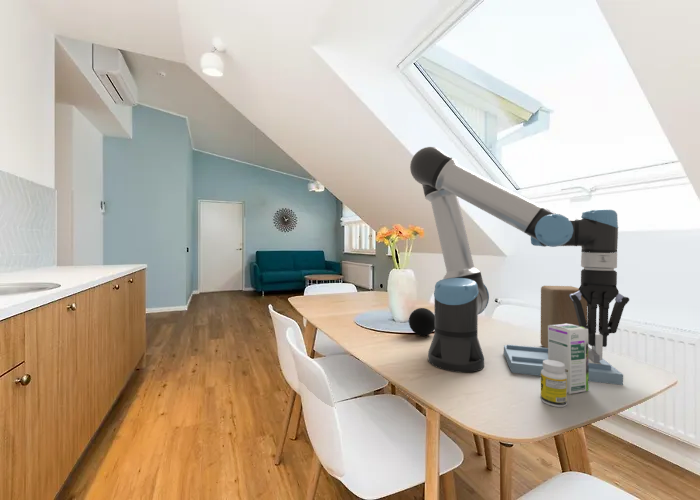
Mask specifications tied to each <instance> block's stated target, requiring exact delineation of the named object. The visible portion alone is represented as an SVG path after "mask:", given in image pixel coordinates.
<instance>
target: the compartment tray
mask: <svg viewBox="0 0 700 500" xmlns="http://www.w3.org/2000/svg"><path fill="white" fill-rule="evenodd" d="M503 355H504V357H505V360H506V362H507V365H508V367H509V369H510V373H514V374H521V375H532V376H538V377H539V376H540V377H541V370H542V369H543V361H544V360H548V348H545V347H543V346H542V347H539V346H529V345H518V344H509V343H508V344H506V345H503ZM600 363H601V364H595V363H589V382H595V383H600V384H601V383H603V384H610V385H611V384H612V385H621V386H623V385H624V373H622V372H621V371H620V370H618V369H616V367H614V366H613V365H612V364H611V363H610V362H608V361H607V360H605V358H603V357H602V360H600Z"/></svg>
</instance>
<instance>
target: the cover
mask: <svg viewBox="0 0 700 500" xmlns="http://www.w3.org/2000/svg"><path fill="white" fill-rule="evenodd" d="M588 360H589V363H595V364H601V363H600V355H598V354H597V353H596V352H595V351H593V350H592V347H590V346H588Z"/></svg>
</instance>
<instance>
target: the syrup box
mask: <svg viewBox="0 0 700 500" xmlns="http://www.w3.org/2000/svg"><path fill="white" fill-rule="evenodd" d="M588 347H589V344H588V329H587V328H585V327H581V326H578V325H573V324H567V323H566V324H558V325H549V326H548V360H555V361H559V362H562V363H564V364H565V372H564V373H565V374H566V375H567V395H573V394H576V393H577V394H578V393H583V392H589V390H590V385H589V384H590V381H589V360H588Z"/></svg>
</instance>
